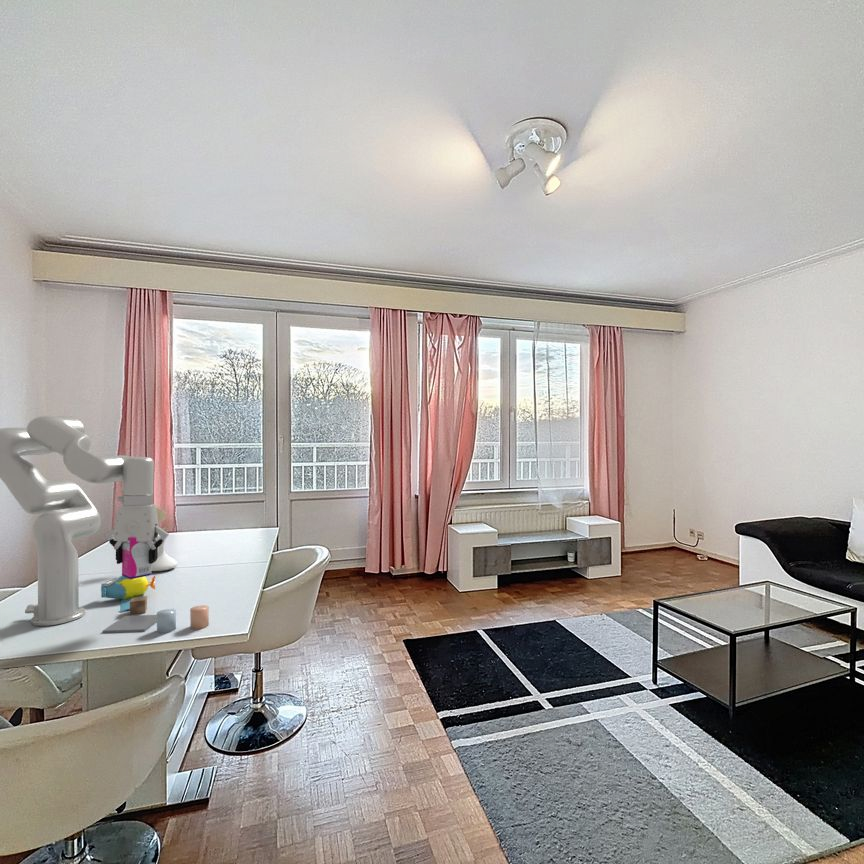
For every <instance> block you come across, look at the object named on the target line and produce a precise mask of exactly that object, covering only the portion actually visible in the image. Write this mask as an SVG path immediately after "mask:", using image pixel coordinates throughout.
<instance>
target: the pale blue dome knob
mask: <svg viewBox="0 0 864 864" xmlns="http://www.w3.org/2000/svg"><path fill="white" fill-rule="evenodd" d="M156 615H157V622H156V633H157V634H162V635H163V634H169V633H171V632H175V631H176V629H177V610H176V609H175V608H165V609H162V610H159V611H157V612H156Z"/></svg>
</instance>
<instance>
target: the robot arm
mask: <svg viewBox="0 0 864 864" xmlns="http://www.w3.org/2000/svg"><path fill="white" fill-rule="evenodd" d="M91 445H92V440H91V438H90V437H89V435H87V434H86V429H85V426H84V424H83V422H82V421H80V420H79V419H77V418H76V417H74V416H73V417H72V416H65V415H64V416H61V415H41V416H37V417H34V418H33V419H31V420H30V422H29V423H28V424H27V426H26V427H3V428H0V480H1V481H2V482H3V484H4V485H5V486H6V487H7V489H8V491H9V492H10V493H11V495H12V496H13V497H14V499H15V500H16V501H17V503H18V504H19V505H20V507H21V509H23V511H24V512H26V513H27V514H31V515H39V516H37V518H35V520H34V522H33V524H32V535H33V538H34V542H35V543H34V544H35V546H36V554H37V557H36V558H37V604H28V605H27V606H26V608H25V610H24V613H25V614H33V616H32V618H31V619H30V624H31V625H33V626H36V627H43V626H44V627H46V626H49V627H50V626H55V625H61V624H65V623H69V622H72V621H75V620H78V619H80V618H81V617H83V616H84V615H85V614H86V608H84V607H82V606H81V607H79V606H80V604H79V602H80V601H79V600H80V598H79V591H80V590H79V553H78V550H77V549H76V547H75V546H74V544H73V543H72V542H73V541H74V540H75V539H76V540H77V539H81V538H85V537H89V536H91V535H94V534H96V533H97V532H98V531H99V529H100V527H101V523H102V521H101V520H102V519H101V515H100V513H99V511H98V508H96V507H95V505H94V503H93V502H92V501H91V500H90V499H89V496H87V493H86V492H84V491H83V489H82V488H81V487H80V486H79V484H78V483H75V482H74V481H72V480H69V479H55V480H49V479H47V478H45V476H43V474H42V473H41V472H40V470H39V469H38V467H36V466H35V465H34V464H32V463H31V462H30V461H27V460H26V459H24V458H23V457H25V456H42V455H48V454H51V453H54V454H56V455H58V456H59V457H62V460H63V464H64V466H65V467H66V469H67V471H68V472H69V473H71V474H72V475H74V476H75V477H77V478H78V479H79V478H80V479H81V480H83V481H85V482H88V483H91V484H95V485H98V484H108V483H118V482H122V494H121V495H120V496H118V497H117V502H121V504H122V505H119V506H118V508H117V512H116V518H115V521H114V522H115V524H114V525H115V526H114V527H113V529H110V531H108V532H106V533H105V538H106V539H107V541H108V542H109V544H110V545H111V546H112V547H113V549H114V550H115V560H116V564H117V565H120V564H122V543H123V542H127V541H128V537H136V541H137V542H147V543H148V544H149V546H150V548H151V549H150V550H149V564H152V563H154V562H156V560H157V558H158V547H159V546H160V545H161V544H162V543H163V542H164V541H165V540H167V538H168V537H169V535H170V534H169V533H168V532H167V531H166V530H163V528H161V527H160V526H159V523H158V516H157V510H156V508H157V507H156V504H154V486H155V485H154V482H155V481H154V480H155V479H154V477H155V472H154V471H155V462H154V459H153V458H152V457H148V456H131V455H123V454H122V455H121V454H120V455H118V454H117V455H101V456H97V455H95V454H93V453H91V452H89V450H90V449H91ZM22 456H23V457H22ZM158 535H161V537H160V539H159V540H158V541H157V539H156V538H157V537H158ZM72 540H73V541H72ZM165 542H166V541H165Z"/></svg>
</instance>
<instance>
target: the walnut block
mask: <svg viewBox="0 0 864 864" xmlns="http://www.w3.org/2000/svg"><path fill="white" fill-rule="evenodd" d="M147 609H148V596H146V595H144V596H143V597H136V598H132V599H131V600H130V611H129V616H136V615H144V614H146V612H147Z"/></svg>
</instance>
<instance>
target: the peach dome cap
mask: <svg viewBox="0 0 864 864" xmlns="http://www.w3.org/2000/svg"><path fill="white" fill-rule="evenodd" d="M209 608H210V607H209V605H205V604H204V605H195V606H193V607H191V608H190V612H189V613H190V615H189V621H190V623H189V624H190V627H189V628H190V629H191V630H202V629H205V628H207V627H209V625H210V624H209V623H210V621H209V620H210V619H209V618H210V617H209V616H210V614H209V613H210V612H209Z"/></svg>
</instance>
